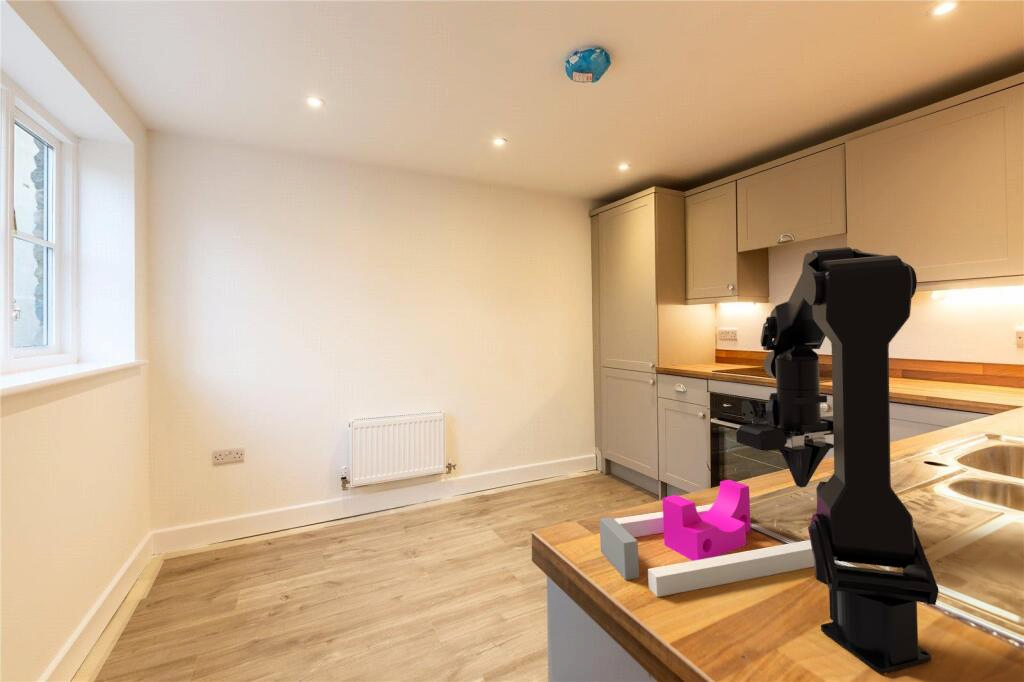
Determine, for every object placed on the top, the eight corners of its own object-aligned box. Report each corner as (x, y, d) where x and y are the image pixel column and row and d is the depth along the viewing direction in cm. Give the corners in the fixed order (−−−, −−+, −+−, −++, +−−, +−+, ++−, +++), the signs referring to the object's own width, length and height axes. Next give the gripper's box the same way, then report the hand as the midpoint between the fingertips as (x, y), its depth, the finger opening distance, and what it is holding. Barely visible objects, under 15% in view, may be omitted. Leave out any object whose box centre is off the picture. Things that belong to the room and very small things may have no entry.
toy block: (697, 564, 62) (695, 512, 62) (664, 546, 67) (662, 498, 67) (765, 538, 68) (763, 490, 68) (730, 523, 74) (728, 479, 74)
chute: (825, 564, 60) (824, 528, 60) (642, 599, 54) (640, 560, 54) (736, 514, 77) (735, 486, 77) (589, 537, 71) (587, 507, 71)
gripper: (802, 379, 79) (805, 465, 79) (711, 386, 75) (715, 477, 75) (864, 385, 68) (868, 485, 68) (761, 395, 64) (765, 501, 64)
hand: (801, 486), depth 69 cm, fingers closed
